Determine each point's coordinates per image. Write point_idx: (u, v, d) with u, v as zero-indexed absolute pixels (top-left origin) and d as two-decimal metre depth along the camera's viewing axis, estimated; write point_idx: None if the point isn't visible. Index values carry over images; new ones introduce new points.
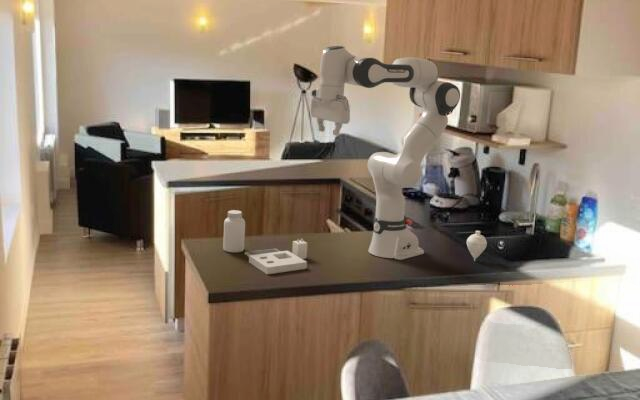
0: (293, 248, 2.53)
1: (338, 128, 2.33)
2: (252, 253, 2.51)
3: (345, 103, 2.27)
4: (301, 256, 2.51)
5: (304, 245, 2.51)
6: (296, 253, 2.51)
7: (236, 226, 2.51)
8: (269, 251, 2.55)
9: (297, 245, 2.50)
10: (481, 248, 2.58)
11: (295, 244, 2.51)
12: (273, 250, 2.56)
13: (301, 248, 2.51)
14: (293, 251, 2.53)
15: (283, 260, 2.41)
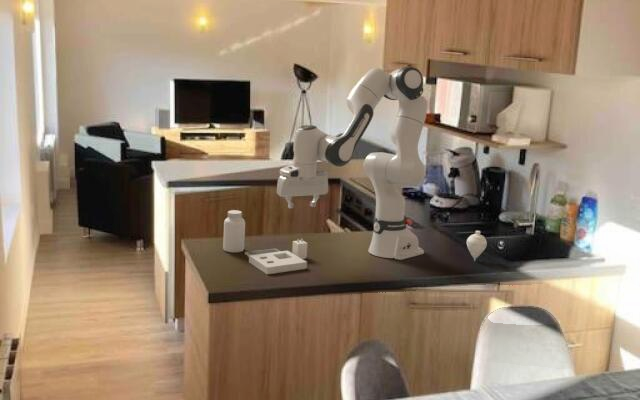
0: (293, 248, 2.53)
1: None
2: (252, 253, 2.51)
3: (326, 175, 2.51)
4: (301, 256, 2.51)
5: (304, 245, 2.51)
6: (296, 253, 2.51)
7: (236, 226, 2.51)
8: (269, 251, 2.55)
9: (297, 245, 2.50)
10: (481, 248, 2.58)
11: (295, 244, 2.51)
12: (273, 250, 2.56)
13: (301, 248, 2.51)
14: (293, 251, 2.53)
15: (283, 260, 2.41)
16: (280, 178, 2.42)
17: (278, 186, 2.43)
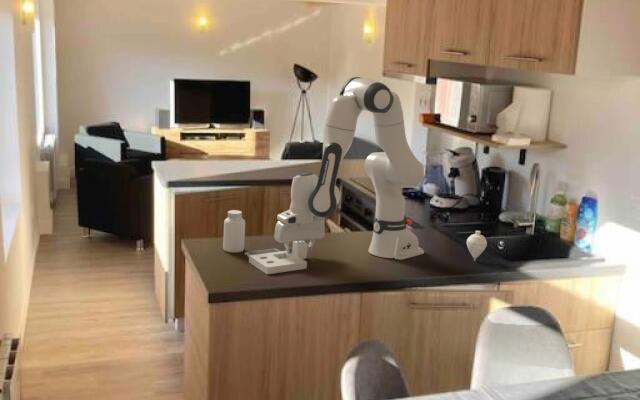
0: (293, 248, 2.53)
1: None
2: (252, 253, 2.51)
3: (323, 219, 2.55)
4: (301, 256, 2.51)
5: (304, 245, 2.51)
6: (296, 253, 2.51)
7: (236, 226, 2.51)
8: (269, 251, 2.55)
9: (297, 245, 2.50)
10: (481, 248, 2.58)
11: (295, 244, 2.51)
12: (273, 250, 2.56)
13: (301, 248, 2.51)
14: (293, 251, 2.53)
15: (283, 260, 2.41)
16: (278, 224, 2.45)
17: (275, 231, 2.46)
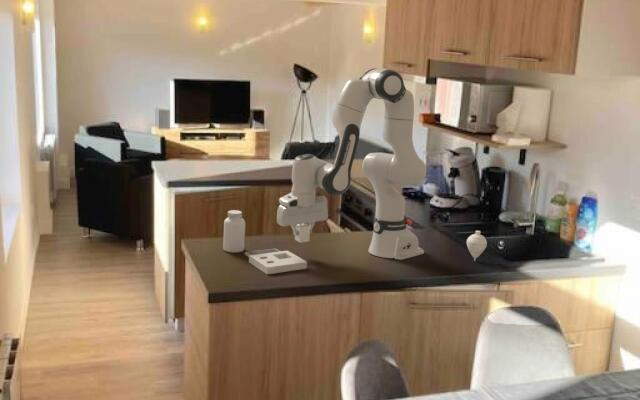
0: None
1: None
2: (252, 253, 2.51)
3: (326, 201, 2.54)
4: (304, 239, 2.51)
5: (306, 228, 2.50)
6: (299, 236, 2.50)
7: (236, 226, 2.51)
8: (269, 251, 2.55)
9: (299, 228, 2.49)
10: (481, 248, 2.58)
11: (297, 227, 2.50)
12: (273, 250, 2.56)
13: (303, 231, 2.50)
14: None
15: (283, 260, 2.41)
16: (279, 207, 2.45)
17: (277, 215, 2.46)
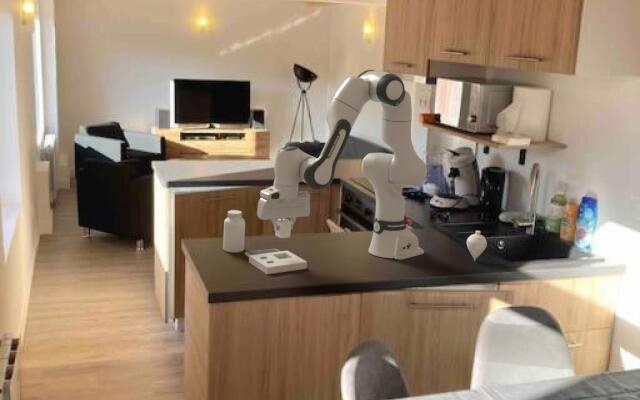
0: None
1: None
2: (252, 253, 2.51)
3: (308, 197, 2.45)
4: (285, 235, 2.41)
5: (287, 223, 2.41)
6: (280, 231, 2.41)
7: (236, 226, 2.51)
8: (269, 251, 2.55)
9: (280, 223, 2.40)
10: (481, 248, 2.58)
11: (278, 222, 2.41)
12: (273, 250, 2.56)
13: (285, 226, 2.41)
14: None
15: (283, 260, 2.41)
16: (260, 200, 2.36)
17: (258, 208, 2.37)
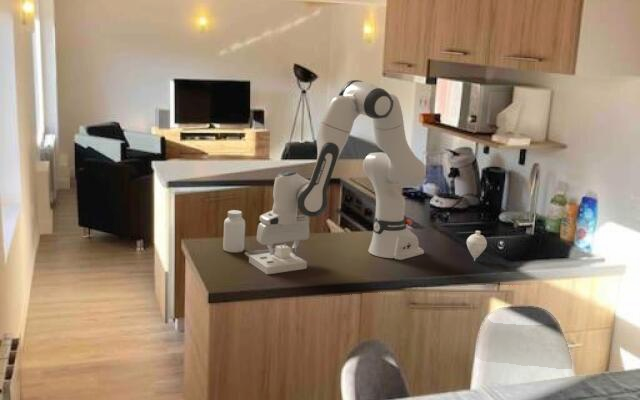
0: (276, 253, 2.45)
1: None
2: (252, 253, 2.51)
3: (307, 220, 2.47)
4: None
5: (287, 250, 2.44)
6: (279, 258, 2.44)
7: (236, 226, 2.51)
8: None
9: (280, 250, 2.43)
10: (481, 248, 2.58)
11: (278, 249, 2.44)
12: None
13: (284, 253, 2.43)
14: (276, 256, 2.46)
15: (283, 260, 2.41)
16: (260, 225, 2.39)
17: (257, 233, 2.39)
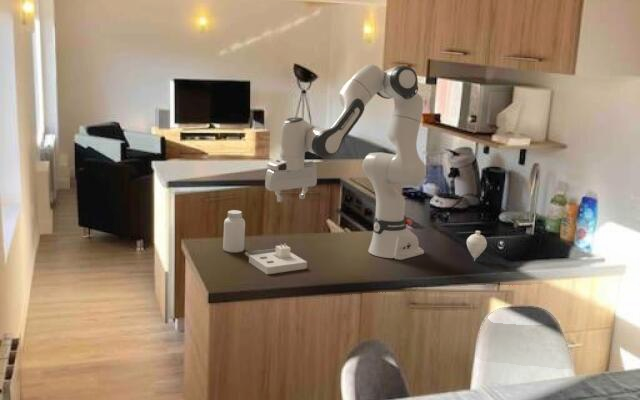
0: (276, 253, 2.45)
1: None
2: (252, 253, 2.51)
3: (314, 167, 2.49)
4: None
5: (287, 250, 2.44)
6: (279, 258, 2.44)
7: (236, 226, 2.51)
8: (269, 251, 2.55)
9: (280, 250, 2.43)
10: (481, 248, 2.58)
11: (278, 249, 2.44)
12: (273, 250, 2.56)
13: (284, 253, 2.43)
14: (276, 256, 2.46)
15: (283, 260, 2.41)
16: (268, 172, 2.40)
17: (266, 180, 2.41)
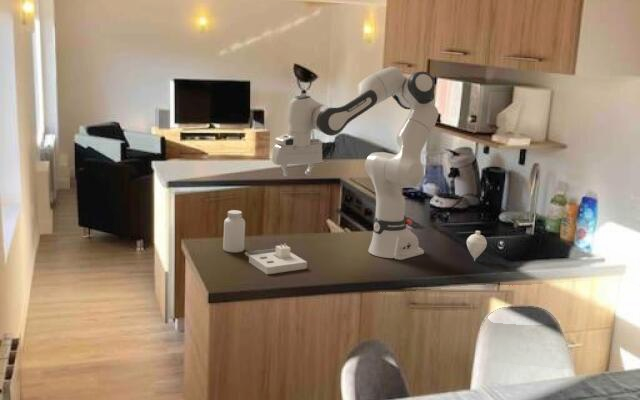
0: (276, 253, 2.45)
1: None
2: (252, 253, 2.51)
3: (320, 144, 2.58)
4: None
5: (287, 250, 2.44)
6: (279, 258, 2.44)
7: (236, 226, 2.51)
8: (269, 251, 2.55)
9: (280, 250, 2.43)
10: (481, 248, 2.58)
11: (278, 249, 2.44)
12: (273, 250, 2.56)
13: (284, 253, 2.43)
14: (276, 256, 2.46)
15: (283, 260, 2.41)
16: (275, 147, 2.50)
17: (273, 154, 2.50)
